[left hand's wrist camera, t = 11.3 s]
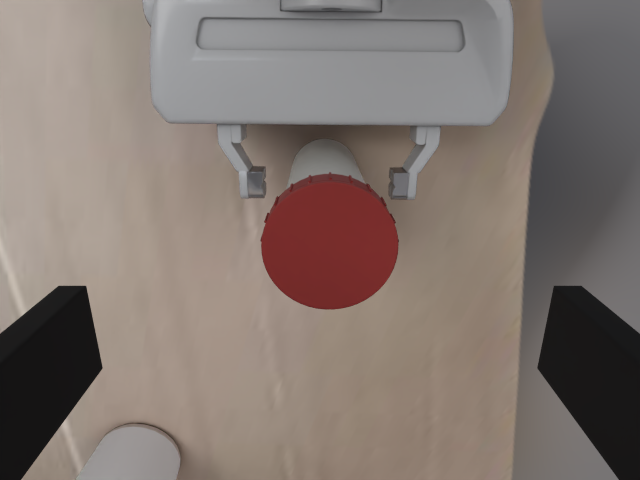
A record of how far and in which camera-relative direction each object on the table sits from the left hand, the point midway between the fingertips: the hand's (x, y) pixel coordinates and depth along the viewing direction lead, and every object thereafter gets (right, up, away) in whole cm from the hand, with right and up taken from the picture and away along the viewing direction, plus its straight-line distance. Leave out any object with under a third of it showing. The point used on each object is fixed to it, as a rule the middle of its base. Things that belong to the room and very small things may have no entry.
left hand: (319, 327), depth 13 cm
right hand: (0, +5, +16) cm, 17 cm away
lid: (0, +2, +7) cm, 8 cm away
